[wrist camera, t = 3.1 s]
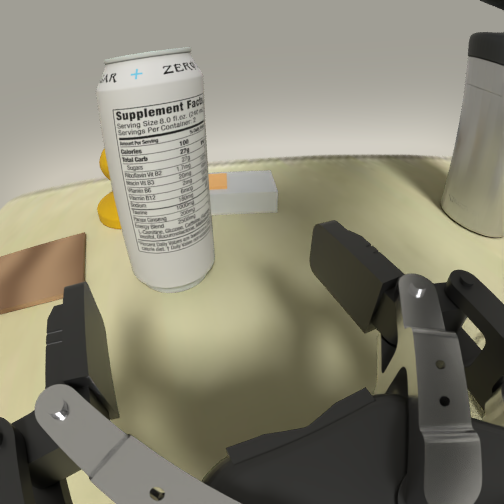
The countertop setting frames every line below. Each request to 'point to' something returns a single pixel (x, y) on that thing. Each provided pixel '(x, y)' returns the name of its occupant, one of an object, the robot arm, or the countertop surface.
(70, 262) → the brown sandpaper sheet
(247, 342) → the countertop surface
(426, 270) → the countertop surface
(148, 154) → the energy drink can
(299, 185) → the countertop surface
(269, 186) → the block
